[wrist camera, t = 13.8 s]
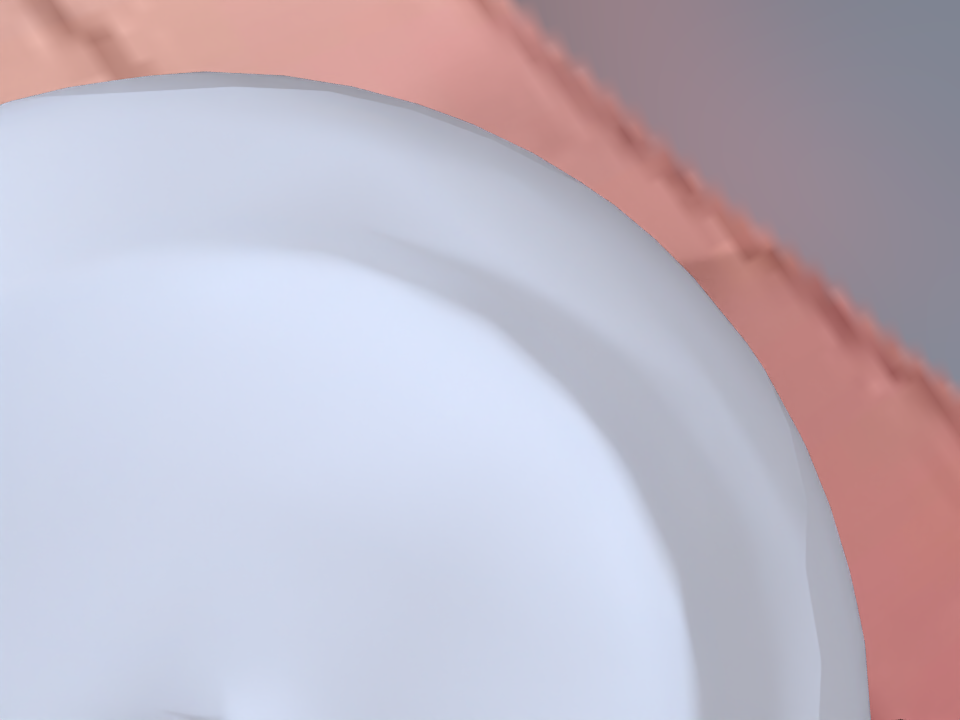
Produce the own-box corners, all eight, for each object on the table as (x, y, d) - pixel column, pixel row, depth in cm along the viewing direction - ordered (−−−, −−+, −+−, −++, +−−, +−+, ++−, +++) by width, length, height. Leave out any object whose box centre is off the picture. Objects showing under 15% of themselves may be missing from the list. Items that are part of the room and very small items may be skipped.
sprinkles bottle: (300, 374, 16) (-56, -217, 3) (502, 475, 16) (1099, 390, 3) (184, 587, 15) (-1277, 1314, 2) (400, 692, 15) (591, 2058, 2)
